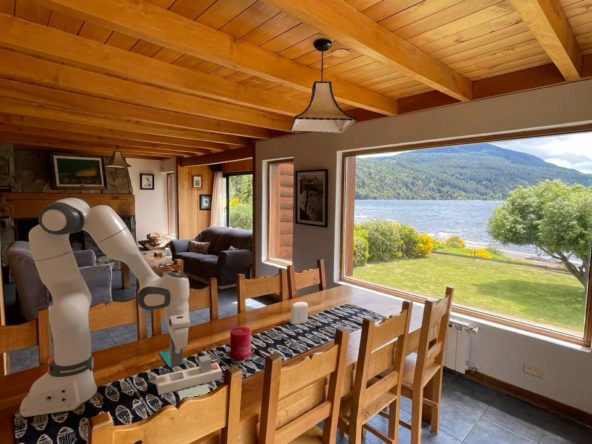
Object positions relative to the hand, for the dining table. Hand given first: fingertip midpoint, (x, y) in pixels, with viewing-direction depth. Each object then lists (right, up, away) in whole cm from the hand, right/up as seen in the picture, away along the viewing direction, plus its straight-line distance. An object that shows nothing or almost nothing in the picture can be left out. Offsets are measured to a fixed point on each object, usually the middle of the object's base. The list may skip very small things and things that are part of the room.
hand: (176, 349), depth 130 cm
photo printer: (+48, -10, +66) cm, 82 cm away
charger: (0, -6, +1) cm, 6 cm away
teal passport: (-9, -13, +21) cm, 26 cm away
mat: (+8, -16, -3) cm, 18 cm away
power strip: (+4, -15, +4) cm, 16 cm away
